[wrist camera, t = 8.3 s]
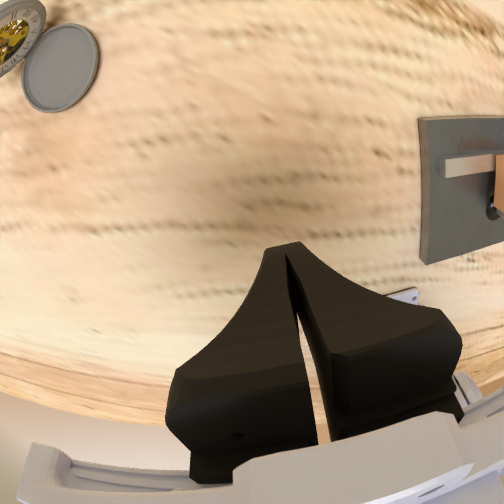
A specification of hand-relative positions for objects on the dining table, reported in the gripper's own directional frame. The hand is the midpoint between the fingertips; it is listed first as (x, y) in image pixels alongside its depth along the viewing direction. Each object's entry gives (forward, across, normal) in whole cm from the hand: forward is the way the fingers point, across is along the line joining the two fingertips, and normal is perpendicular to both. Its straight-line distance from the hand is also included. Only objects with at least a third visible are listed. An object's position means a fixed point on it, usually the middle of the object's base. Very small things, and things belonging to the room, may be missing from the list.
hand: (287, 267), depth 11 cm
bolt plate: (+10, -24, +3) cm, 26 cm away
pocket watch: (+11, +12, -14) cm, 21 cm away
